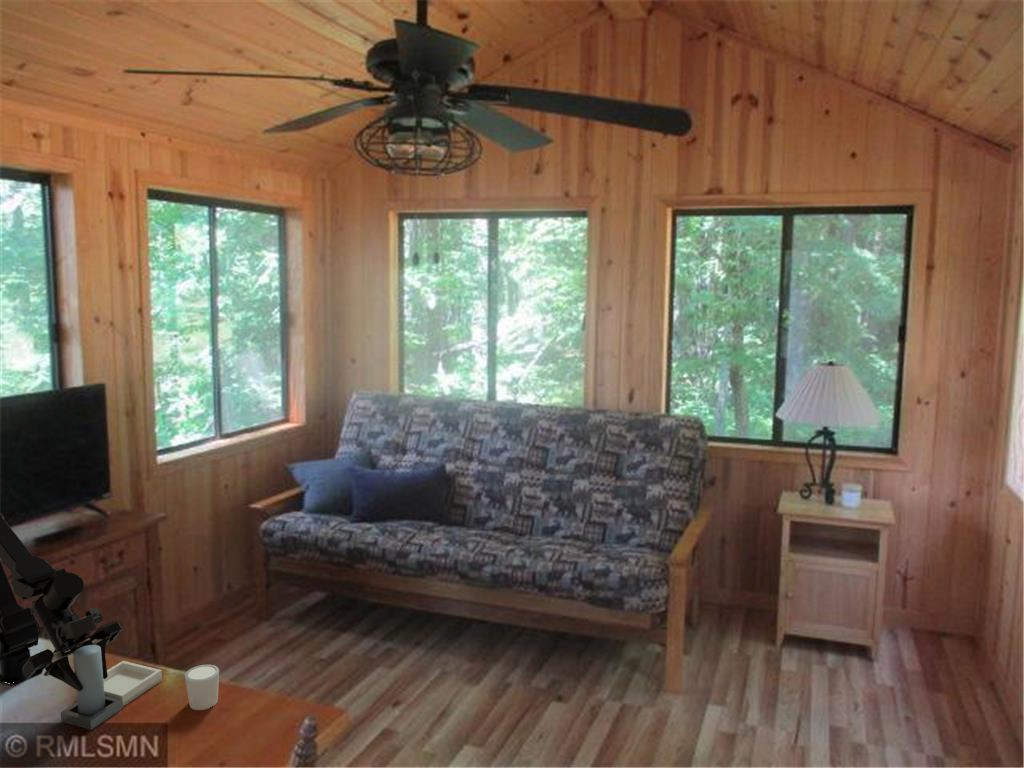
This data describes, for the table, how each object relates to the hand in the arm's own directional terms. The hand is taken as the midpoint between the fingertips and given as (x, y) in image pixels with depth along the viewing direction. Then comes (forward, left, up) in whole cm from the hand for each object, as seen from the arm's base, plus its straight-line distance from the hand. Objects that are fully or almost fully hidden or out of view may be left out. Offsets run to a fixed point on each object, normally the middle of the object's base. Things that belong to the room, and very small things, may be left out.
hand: (93, 684), depth 163 cm
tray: (-3, +10, -7) cm, 13 cm away
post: (-1, 0, -7) cm, 7 cm away
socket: (-1, 0, -7) cm, 8 cm away
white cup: (+17, +12, -8) cm, 22 cm away
